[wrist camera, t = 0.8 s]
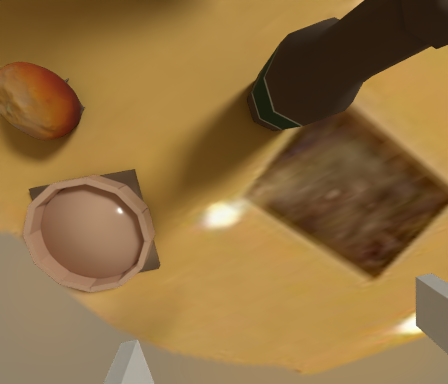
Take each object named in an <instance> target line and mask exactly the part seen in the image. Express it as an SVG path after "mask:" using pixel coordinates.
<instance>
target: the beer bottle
mask: <svg viewBox="0 0 448 384" xmlns="http://www.w3.org/2000/svg"><path fill="white" fill-rule="evenodd" d="M446 45H448V0H364V1H363V2H362V3H360V4H359V5H358V6H357V7H355V8H354V9H353V10H352V11H350V12H349V13H348V14H347V15H345V16H344V17H343V18H342V19H340V20H339V19H337V18H335V17H334V18H330V19H327V20H324V21H321V22H318V23H316V24H313V25H311V26H308V27H305V28H303V29H300V30H297V31H295V32H292V33H290V34H288V35H287V36H286V37H285V38H284V39H283V41H282V42H281V43H280V44H279V46H278V47H277V48H276V50H275V51H274V53H273V54H272V56H271V57H270V58H269V60H268V61H267V63H266V64H265V66H264V67H263V68H262V70H261V71H260V73H259V74H258V76H257V78H256V81H255V83H254V85H253V87H252V89H251V92H250V94H249V96H248V98H247V102H248V105H249V108H250V111H251V114H252V118H253V121H254V122H256V123H258V124H260V125H262V126H264V127H266V128H268V129H270V130H272V131H278V130H283V129H289V128H295V127H300V126H305V125H307V124H310V123H313V122H315V121H318V120H321V119H323V118H326V117H329V116H331V115H334V114H337V113H339V112H342V111H345V110H346V109H347V108H348V106H349V105H350V104H351V103H352V102H353V100H354V98H355V97H356V95H357V93H358V91H359V89H360V87H361V86H362V84H363V82H365V81H366V80H367V79H369V78H370V77H372V76H373V75H375V74H377V73H379V72H381V71H383V70H385V69H387V68H389V67H391V66H393V65H395V64H397V63H399V62H401V61H403V60H405V59H407V58H409V57H411V56H413V55H415V54H417V53H419V52H421V51H423V50H425V49H427V48H429V47H431V46H432V47H434V48H435V49H438V48H441V47H443V46H446Z"/></svg>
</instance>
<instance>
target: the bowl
mask: <svg viewBox="0 0 448 384" xmlns="http://www.w3.org/2000/svg"><path fill="white" fill-rule="evenodd" d="M125 185H126V184H123V183H120V182H117V181H114V180H111V179H108V178H105V177H102V176H99V175H90V176H85V177H79V178H74V179H68V180H63V181H60V182H56V183H52V184H51V185H49V186H48V187H47V188H46V189H45V190H44V191H43V192H42V193H41V194H40V195H39V196H38V197H37V198H35V199H34V200H33V201H32V202H31V203H30V204H29V206H28V210H27V215H26V220H25V225H24V230H23V234H24V235H23V237H24V239H25V242H26V244H27V247H28V249H29V252H30V254H31V256H32V259H33V261H34V263H36V265H37V266H38V267H39V268H40V269H41V270H43V271H44V272H45V273H46V274H47V275H49V276H50V277H51V278H52V279H54V280H55V281H56V282H57V283H58V284H59V283H60V285H64V286H67V287H71V288H75V289H79V290H83V291H86V292H96V291H101V290H106V289H112V288H117V287H120V286H122V285H123V284H124V283H126V282H127V281H128V280H129V279H130V278H132V277H133V276H134V275H135V274H136V273H138V272H139V271H140V270H141V269H142V268H143V266H144V264H145V263H146V261H147V259H148V256H149V253H150V250H151V246H152V243H153V240H154V237H155V231H154V227H153V223H152V220H151V216H150V212H149V208H147V207H148V206H147V205H146V204H145V203H144V202H143V201H142V200H141V199H140V198H139V197H138V196H137V195H136V194H135V193H134V192H133V191H132V190H131V189H130V188H129V187H128V186H127V185H126V186H125ZM66 187H68V188H66ZM138 259H139V260H138Z"/></svg>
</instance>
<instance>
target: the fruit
mask: <svg viewBox="0 0 448 384" xmlns="http://www.w3.org/2000/svg"><path fill="white" fill-rule="evenodd" d="M68 79H69V78H68ZM68 79H66V80H65V81H64V80H63V79H61V78H60V77H59V76H58V75H56V74H55V73H53V72H51V71H49V70H47V69H45V68H43V67H40V66H37V65H34V64H30V63H26V62H15V63H12V64H8V65H6V66H4V67H3V68H2V69H0V114H1V115H2V116H3V117H4V118H5V119H6V120H7V121H8V122H9V123H10V124H12V125H13V126H15V127H16V128H18V129H20V130H22V131H23V132H25V133H27V134H28V135H30V136H32V137H34V138H37V139H40V140H49V139H56V138H59V137H61V136H64V135H66V134H67V133H69V132H70V131H71V130H72V129H73V128H74V127H75V126H76V125H77V124H78V123H79V121H80V119H81V115H82V111H83V110H84V108H85V107H83V106H82V105H81V103H80V101H79V99H78V97H77V95H76V94H75V92H74V91H73V89H72V88H71V87H70V86H69V85H68V84H67V80H68Z"/></svg>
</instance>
